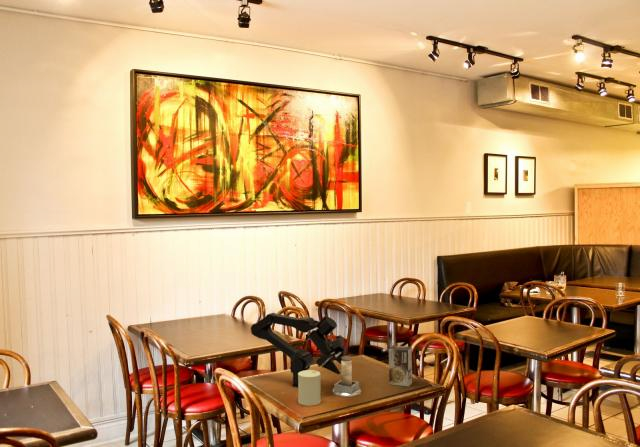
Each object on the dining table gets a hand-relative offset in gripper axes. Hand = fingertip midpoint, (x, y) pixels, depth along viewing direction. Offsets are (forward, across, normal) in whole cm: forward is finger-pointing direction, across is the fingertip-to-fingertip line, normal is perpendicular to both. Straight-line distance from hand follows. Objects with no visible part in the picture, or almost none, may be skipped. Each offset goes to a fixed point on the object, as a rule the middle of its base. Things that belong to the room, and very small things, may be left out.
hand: (344, 370), depth 232 cm
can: (+1, -17, +12) cm, 21 cm away
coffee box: (+19, +21, -6) cm, 29 cm away
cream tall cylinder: (+6, 0, +5) cm, 8 cm away
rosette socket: (+7, 0, +5) cm, 9 cm away
